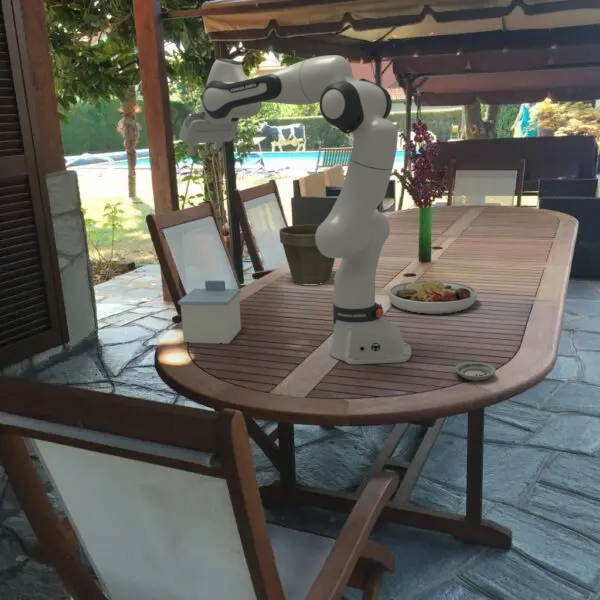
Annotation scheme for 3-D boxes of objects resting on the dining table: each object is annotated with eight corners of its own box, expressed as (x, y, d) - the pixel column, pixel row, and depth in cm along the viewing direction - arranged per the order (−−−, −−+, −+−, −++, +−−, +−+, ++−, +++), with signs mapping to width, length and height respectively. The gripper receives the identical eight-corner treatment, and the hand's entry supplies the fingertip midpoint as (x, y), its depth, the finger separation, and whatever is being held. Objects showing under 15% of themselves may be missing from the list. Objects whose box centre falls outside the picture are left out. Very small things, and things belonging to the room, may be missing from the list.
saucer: (468, 367, 166) (468, 358, 165) (502, 377, 159) (503, 367, 158) (446, 378, 159) (447, 369, 159) (481, 388, 153) (481, 379, 152)
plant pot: (355, 281, 258) (354, 228, 252) (306, 292, 244) (304, 236, 238) (316, 271, 278) (315, 222, 272) (269, 281, 263) (267, 229, 258)
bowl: (371, 307, 223) (370, 285, 221) (418, 289, 244) (418, 269, 242) (447, 322, 203) (448, 299, 201) (492, 301, 224) (493, 280, 222)
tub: (241, 329, 203) (238, 292, 200) (228, 343, 190) (226, 304, 187) (198, 328, 206) (195, 292, 203) (183, 342, 193) (180, 304, 189)
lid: (240, 295, 201) (239, 279, 200) (227, 308, 187) (226, 292, 185) (195, 294, 204) (193, 279, 202) (178, 307, 189) (177, 291, 188)
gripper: (195, 117, 182) (183, 161, 189) (244, 116, 197) (231, 156, 205) (181, 107, 185) (169, 150, 192) (231, 107, 200) (218, 147, 207)
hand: (202, 153), depth 198 cm, fingers open, 8 cm apart
